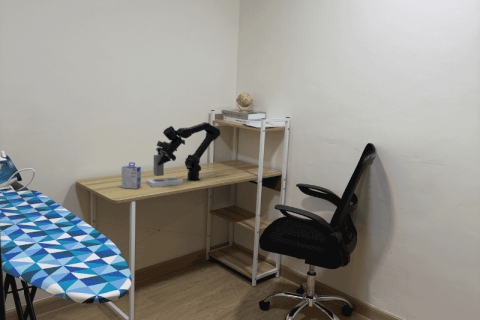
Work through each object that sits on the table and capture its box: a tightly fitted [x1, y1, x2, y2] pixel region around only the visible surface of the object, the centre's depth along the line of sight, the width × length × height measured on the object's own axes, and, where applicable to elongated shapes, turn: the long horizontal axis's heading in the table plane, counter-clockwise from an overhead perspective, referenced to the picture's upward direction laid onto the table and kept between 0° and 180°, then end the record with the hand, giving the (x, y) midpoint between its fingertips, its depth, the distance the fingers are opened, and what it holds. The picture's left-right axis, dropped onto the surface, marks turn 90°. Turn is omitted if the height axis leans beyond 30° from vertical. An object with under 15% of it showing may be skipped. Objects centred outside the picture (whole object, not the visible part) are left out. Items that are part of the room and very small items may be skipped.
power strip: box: [146, 176, 184, 188], centre depth 252 cm, size 20×9×3 cm, turn 124°
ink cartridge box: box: [121, 161, 142, 190], centre depth 239 cm, size 10×6×14 cm, turn 78°
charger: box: [153, 154, 165, 177], centre depth 248 cm, size 4×4×12 cm
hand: (156, 164), depth 247 cm, fingers closed on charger, 4 cm apart
